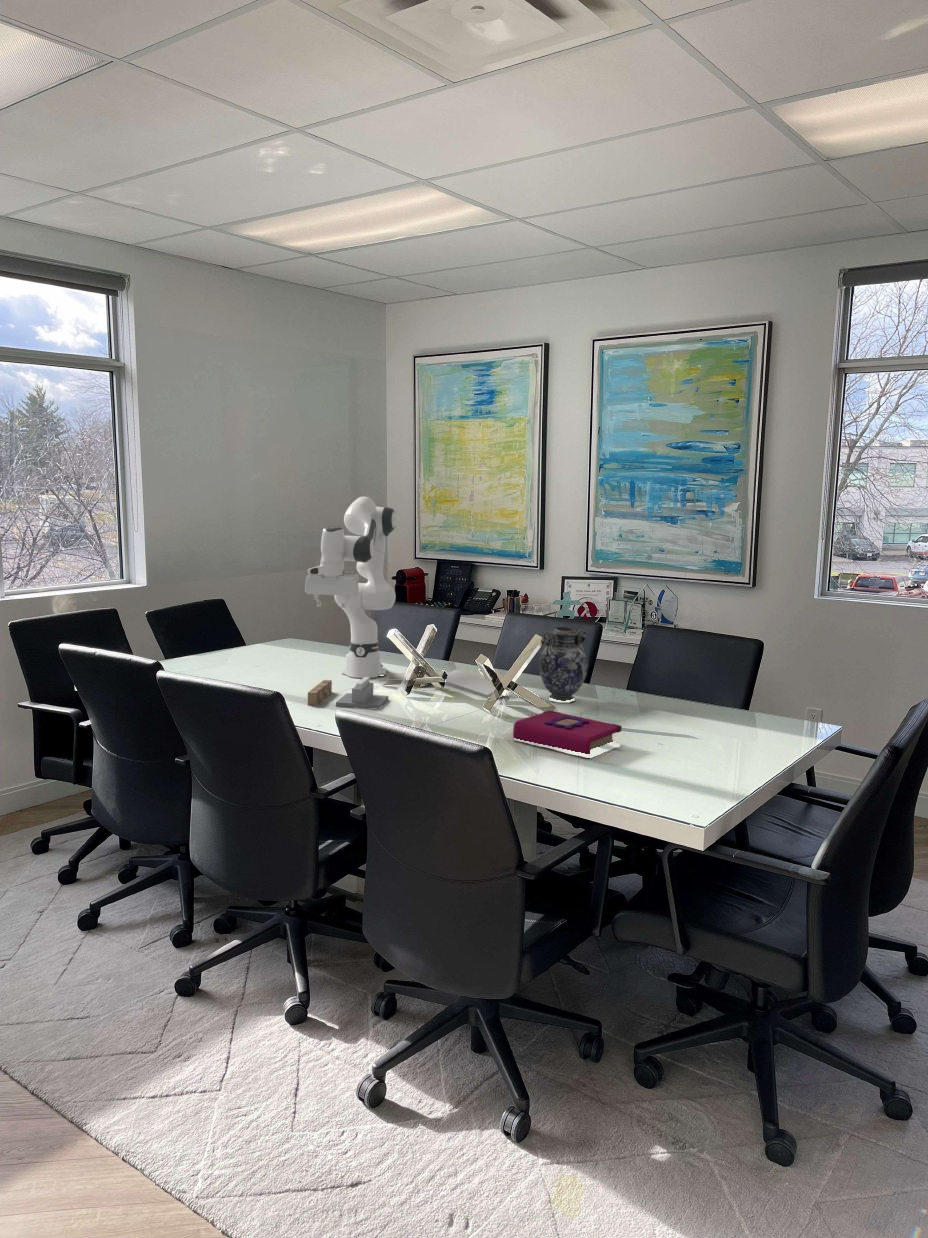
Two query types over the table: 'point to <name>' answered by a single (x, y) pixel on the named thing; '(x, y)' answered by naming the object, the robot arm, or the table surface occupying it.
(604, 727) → the book
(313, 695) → the brown wooden bar
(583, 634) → the decorative vase
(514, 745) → the table surface
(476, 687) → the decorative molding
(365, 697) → the stand
